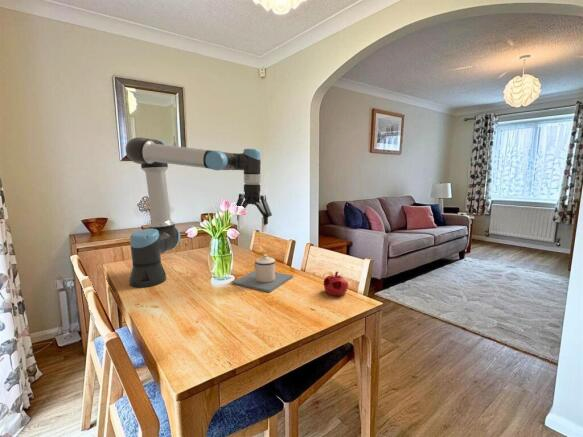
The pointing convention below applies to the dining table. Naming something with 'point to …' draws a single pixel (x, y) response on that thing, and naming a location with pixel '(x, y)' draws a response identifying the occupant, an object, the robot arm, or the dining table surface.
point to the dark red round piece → (335, 285)
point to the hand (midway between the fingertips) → (252, 229)
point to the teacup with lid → (265, 269)
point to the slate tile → (252, 283)
